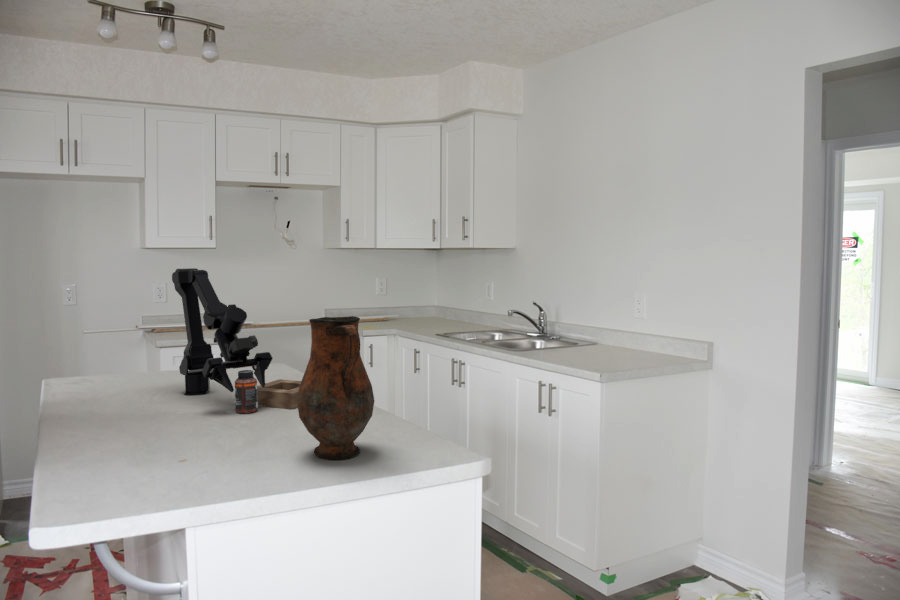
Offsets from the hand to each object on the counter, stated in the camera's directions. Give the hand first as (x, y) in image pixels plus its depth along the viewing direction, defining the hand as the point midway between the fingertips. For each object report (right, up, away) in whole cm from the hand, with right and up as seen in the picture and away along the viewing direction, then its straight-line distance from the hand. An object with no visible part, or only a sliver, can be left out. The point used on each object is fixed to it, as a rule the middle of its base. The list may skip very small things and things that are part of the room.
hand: (248, 388), depth 185 cm
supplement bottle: (-1, -7, +2) cm, 7 cm away
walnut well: (+7, -6, +14) cm, 17 cm away
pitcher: (+31, -10, -39) cm, 51 cm away
